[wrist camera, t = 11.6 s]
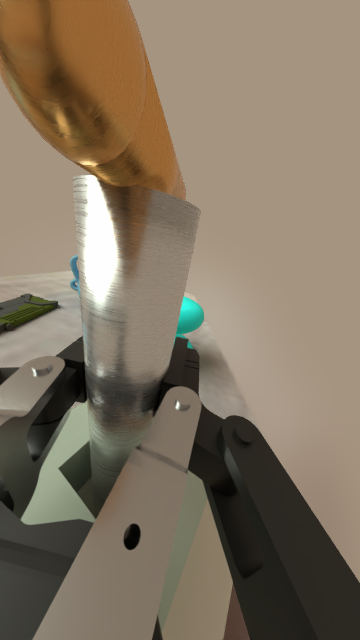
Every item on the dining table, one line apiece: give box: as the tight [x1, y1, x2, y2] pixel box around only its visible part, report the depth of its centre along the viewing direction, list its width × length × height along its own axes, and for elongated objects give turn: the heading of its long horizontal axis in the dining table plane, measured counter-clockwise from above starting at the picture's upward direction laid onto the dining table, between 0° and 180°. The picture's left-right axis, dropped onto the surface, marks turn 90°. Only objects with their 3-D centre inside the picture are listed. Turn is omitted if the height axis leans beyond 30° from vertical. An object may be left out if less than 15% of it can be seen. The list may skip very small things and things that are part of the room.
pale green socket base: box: [21, 401, 233, 640], centre depth 11 cm, size 16×12×6 cm
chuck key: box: [0, 0, 201, 514], centre depth 8 cm, size 7×3×18 cm, turn 173°
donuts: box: [173, 297, 204, 349], centre depth 27 cm, size 10×10×10 cm
